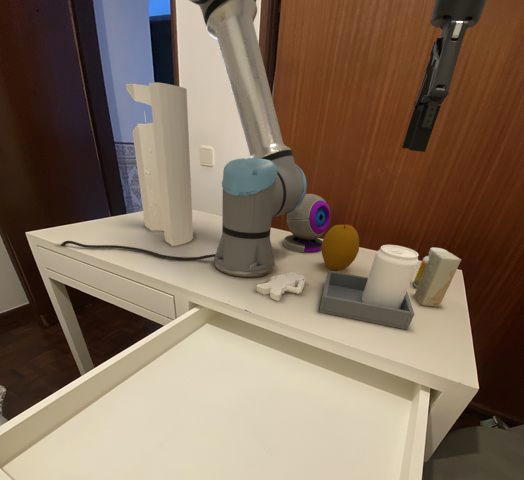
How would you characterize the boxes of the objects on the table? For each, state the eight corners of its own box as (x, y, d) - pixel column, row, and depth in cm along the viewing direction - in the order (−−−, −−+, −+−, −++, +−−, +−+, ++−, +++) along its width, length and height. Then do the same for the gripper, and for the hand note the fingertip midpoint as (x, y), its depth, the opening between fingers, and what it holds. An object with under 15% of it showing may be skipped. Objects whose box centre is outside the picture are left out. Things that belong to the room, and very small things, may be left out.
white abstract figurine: (313, 285, 71) (314, 277, 70) (282, 306, 64) (283, 297, 63) (283, 273, 75) (284, 265, 74) (251, 291, 68) (251, 283, 67)
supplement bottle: (425, 282, 81) (441, 246, 75) (439, 291, 77) (456, 254, 71) (408, 282, 80) (423, 246, 74) (421, 291, 75) (437, 253, 70)
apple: (325, 259, 88) (335, 216, 81) (357, 268, 85) (370, 224, 78) (311, 268, 81) (320, 222, 74) (345, 278, 78) (358, 231, 71)
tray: (319, 312, 62) (322, 296, 60) (324, 284, 74) (328, 270, 71) (407, 329, 60) (414, 313, 57) (399, 298, 71) (404, 284, 69)
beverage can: (391, 319, 61) (415, 261, 54) (354, 305, 65) (372, 249, 58) (403, 305, 67) (425, 252, 59) (368, 293, 70) (385, 241, 63)
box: (439, 307, 69) (462, 260, 62) (420, 305, 69) (442, 258, 62) (430, 297, 73) (451, 251, 67) (412, 295, 73) (432, 249, 67)
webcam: (303, 255, 89) (312, 200, 80) (274, 242, 97) (280, 190, 88) (331, 249, 96) (343, 197, 87) (303, 237, 104) (311, 189, 95)
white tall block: (169, 246, 85) (142, 226, 98) (205, 241, 91) (175, 223, 104) (154, 81, 64) (122, 83, 77) (202, 89, 70) (165, 90, 83)
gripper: (523, -51, 37) (445, 155, 50) (468, 14, 57) (422, 149, 69) (458, -52, 38) (398, 149, 51) (426, 12, 58) (389, 146, 70)
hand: (412, 150), depth 60 cm, fingers open, 13 cm apart
